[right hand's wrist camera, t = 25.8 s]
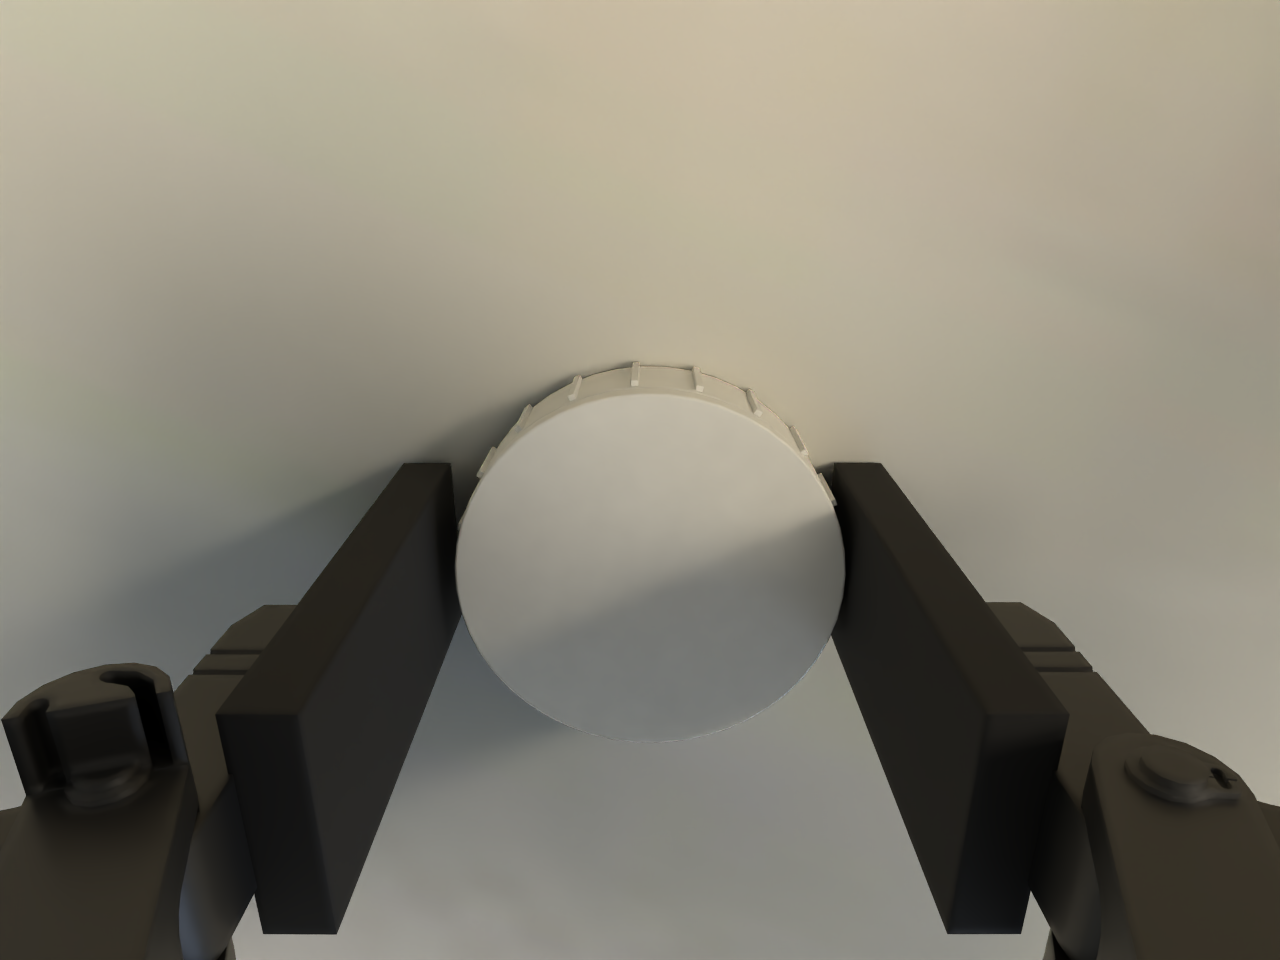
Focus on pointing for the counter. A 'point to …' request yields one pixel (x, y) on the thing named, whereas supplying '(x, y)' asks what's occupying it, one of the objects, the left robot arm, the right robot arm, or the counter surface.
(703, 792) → the counter surface
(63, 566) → the counter surface
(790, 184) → the counter surface
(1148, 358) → the counter surface
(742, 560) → the lid
